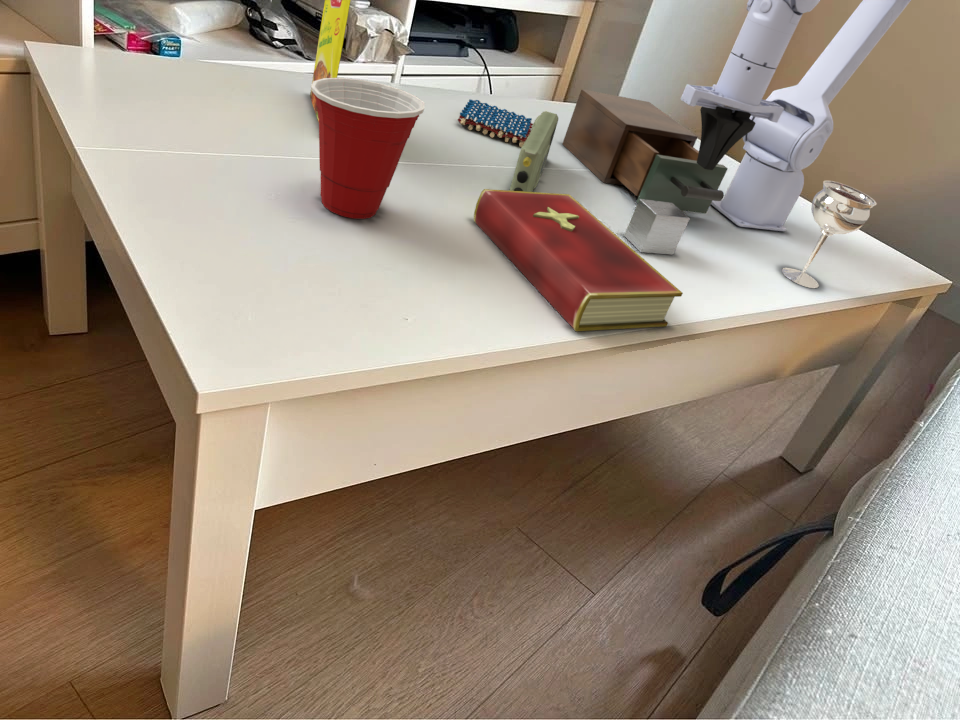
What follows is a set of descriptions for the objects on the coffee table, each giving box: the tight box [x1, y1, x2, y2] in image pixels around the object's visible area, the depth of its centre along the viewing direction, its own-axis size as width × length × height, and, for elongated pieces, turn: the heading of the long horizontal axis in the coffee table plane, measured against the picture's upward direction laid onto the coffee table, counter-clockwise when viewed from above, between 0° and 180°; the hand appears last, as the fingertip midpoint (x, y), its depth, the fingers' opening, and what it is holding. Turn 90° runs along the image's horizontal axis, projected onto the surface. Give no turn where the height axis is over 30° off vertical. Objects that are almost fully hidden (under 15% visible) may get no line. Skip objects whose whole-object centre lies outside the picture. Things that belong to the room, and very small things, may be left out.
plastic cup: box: [310, 77, 426, 220], centre depth 75 cm, size 11×11×12 cm
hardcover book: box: [473, 188, 684, 332], centre depth 79 cm, size 12×21×4 cm, turn 28°
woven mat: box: [457, 98, 533, 148], centre depth 114 cm, size 10×11×2 cm
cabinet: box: [561, 88, 698, 187], centre depth 113 cm, size 14×13×9 cm
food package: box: [309, 0, 352, 123], centre depth 92 cm, size 15×1×20 cm, turn 17°
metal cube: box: [623, 199, 691, 256], centre depth 92 cm, size 5×4×5 cm
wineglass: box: [781, 180, 878, 289], centre depth 95 cm, size 7×7×12 cm
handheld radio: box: [509, 110, 559, 192], centre depth 96 cm, size 7×3×25 cm
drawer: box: [612, 130, 728, 215], centre depth 105 cm, size 17×11×7 cm
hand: (704, 166), depth 98 cm, fingers closed
